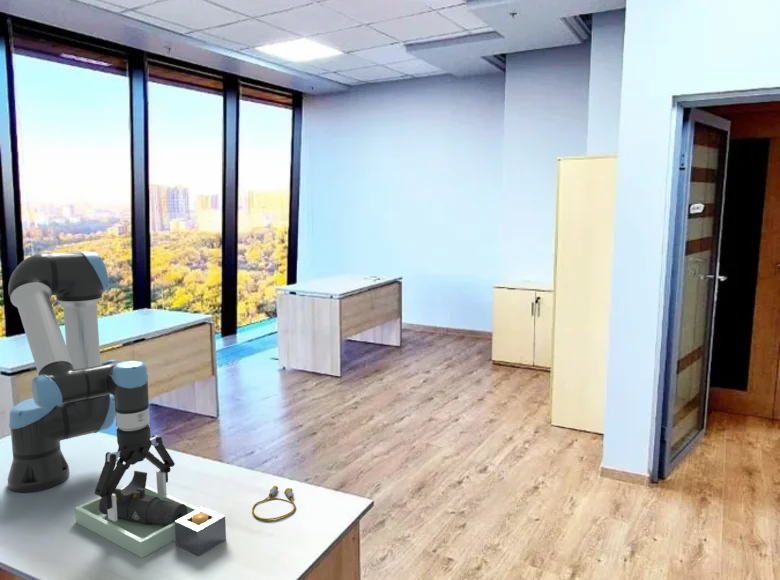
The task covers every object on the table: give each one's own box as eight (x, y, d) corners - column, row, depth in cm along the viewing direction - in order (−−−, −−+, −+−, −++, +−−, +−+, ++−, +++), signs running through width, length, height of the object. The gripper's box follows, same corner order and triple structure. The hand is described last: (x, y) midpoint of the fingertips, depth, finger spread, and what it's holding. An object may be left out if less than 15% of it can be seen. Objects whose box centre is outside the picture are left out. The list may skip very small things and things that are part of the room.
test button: (189, 537, 139) (188, 517, 138) (202, 530, 142) (201, 511, 141) (199, 542, 137) (198, 522, 136) (212, 535, 140) (211, 515, 139)
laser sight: (167, 538, 139) (165, 498, 138) (90, 522, 146) (87, 484, 145) (192, 517, 149) (190, 480, 147) (119, 503, 155) (117, 467, 154)
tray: (75, 522, 148) (74, 507, 147) (137, 494, 162) (136, 481, 161) (142, 558, 133) (141, 542, 133) (203, 524, 147) (202, 509, 147)
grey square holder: (175, 544, 138) (174, 521, 137) (203, 529, 145) (202, 506, 144) (198, 556, 134) (197, 531, 133) (226, 539, 141) (225, 516, 140)
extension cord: (312, 499, 161) (312, 492, 160) (277, 527, 147) (277, 520, 146) (276, 489, 166) (276, 482, 166) (238, 516, 152) (238, 508, 152)
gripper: (92, 446, 131) (99, 535, 135) (186, 413, 152) (189, 490, 155) (74, 439, 135) (80, 525, 139) (167, 407, 156) (171, 483, 159)
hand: (138, 507), depth 147 cm, fingers open, 13 cm apart
